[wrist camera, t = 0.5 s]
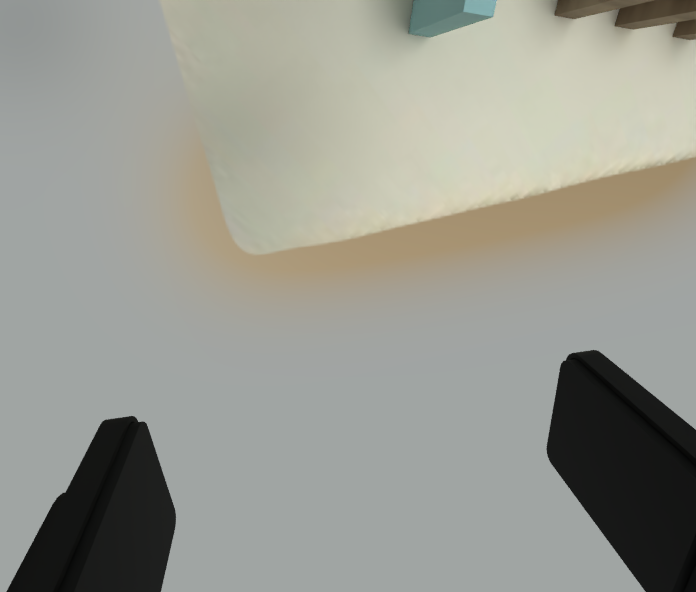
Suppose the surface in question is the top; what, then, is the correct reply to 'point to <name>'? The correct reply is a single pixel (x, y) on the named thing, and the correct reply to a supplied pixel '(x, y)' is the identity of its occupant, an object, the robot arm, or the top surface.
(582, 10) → the tile
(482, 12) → the tile
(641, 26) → the tile
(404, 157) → the top surface
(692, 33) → the tile
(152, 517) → the robot arm
